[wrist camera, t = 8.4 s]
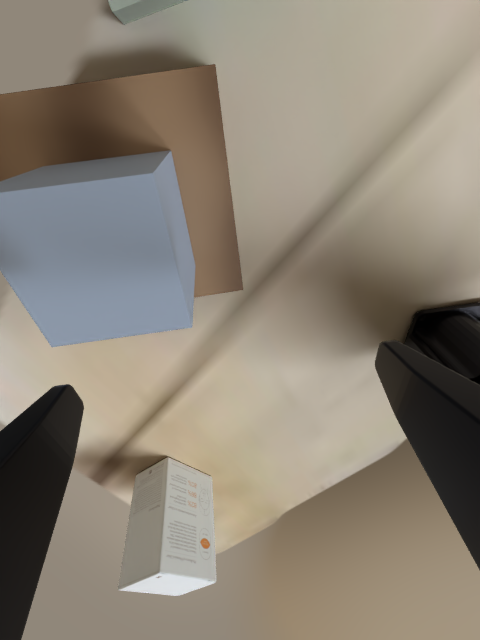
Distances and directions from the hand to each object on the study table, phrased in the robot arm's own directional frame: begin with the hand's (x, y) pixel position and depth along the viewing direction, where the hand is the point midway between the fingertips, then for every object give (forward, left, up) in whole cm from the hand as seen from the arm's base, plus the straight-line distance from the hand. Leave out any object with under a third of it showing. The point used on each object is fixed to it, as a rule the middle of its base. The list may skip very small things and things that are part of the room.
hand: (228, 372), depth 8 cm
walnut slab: (+4, -2, -13) cm, 13 cm away
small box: (+9, +30, -12) cm, 34 cm away
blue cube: (+4, -2, -10) cm, 11 cm away
